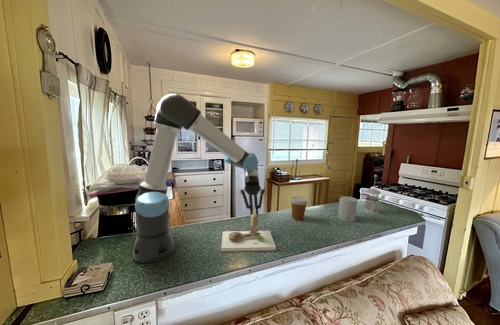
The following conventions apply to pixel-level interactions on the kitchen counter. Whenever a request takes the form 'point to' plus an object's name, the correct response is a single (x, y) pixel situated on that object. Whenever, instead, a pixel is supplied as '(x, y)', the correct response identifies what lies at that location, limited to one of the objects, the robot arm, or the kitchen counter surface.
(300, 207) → the disposable coffee cup
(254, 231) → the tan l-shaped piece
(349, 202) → the grey cylinder
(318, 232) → the kitchen counter surface
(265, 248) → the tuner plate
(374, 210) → the french press
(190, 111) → the robot arm
